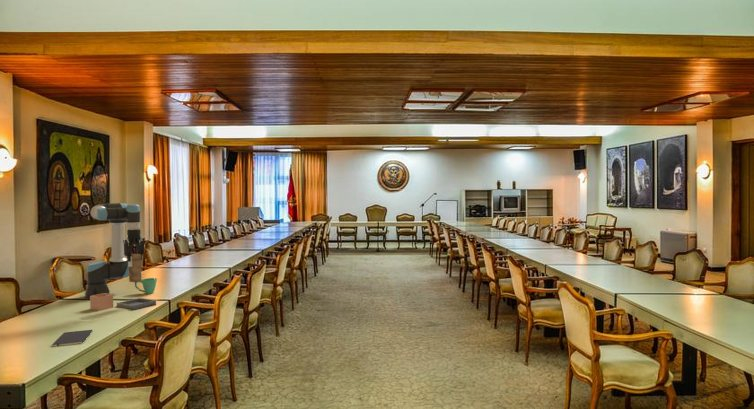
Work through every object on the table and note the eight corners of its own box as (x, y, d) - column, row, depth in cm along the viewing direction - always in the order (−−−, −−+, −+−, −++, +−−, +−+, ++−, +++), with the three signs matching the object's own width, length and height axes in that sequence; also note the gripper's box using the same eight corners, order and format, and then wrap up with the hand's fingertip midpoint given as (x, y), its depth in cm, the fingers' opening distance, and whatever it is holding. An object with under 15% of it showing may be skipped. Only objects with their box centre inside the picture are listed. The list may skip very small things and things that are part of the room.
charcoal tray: (116, 307, 304) (116, 303, 304) (140, 302, 318) (139, 297, 318) (132, 310, 297) (132, 305, 296) (156, 305, 311) (155, 300, 310)
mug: (158, 291, 353) (158, 277, 352) (155, 294, 343) (154, 280, 343) (137, 292, 350) (136, 278, 350) (132, 295, 340) (132, 281, 340)
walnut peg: (129, 281, 306) (128, 254, 305) (136, 280, 310) (135, 253, 310) (134, 282, 303) (133, 255, 303) (141, 280, 308) (140, 254, 307)
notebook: (82, 344, 234) (92, 332, 254) (82, 341, 234) (92, 329, 254) (51, 347, 229) (64, 335, 249) (51, 344, 229) (64, 332, 249)
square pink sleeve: (90, 310, 298) (89, 295, 298) (104, 307, 306) (104, 293, 306) (99, 312, 294) (98, 297, 294) (113, 308, 302) (113, 294, 302)
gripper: (123, 230, 296) (125, 268, 297) (150, 228, 312) (151, 264, 312) (116, 230, 300) (117, 267, 300) (143, 227, 315) (144, 263, 316)
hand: (134, 265), depth 306 cm, fingers closed on walnut peg, 5 cm apart
